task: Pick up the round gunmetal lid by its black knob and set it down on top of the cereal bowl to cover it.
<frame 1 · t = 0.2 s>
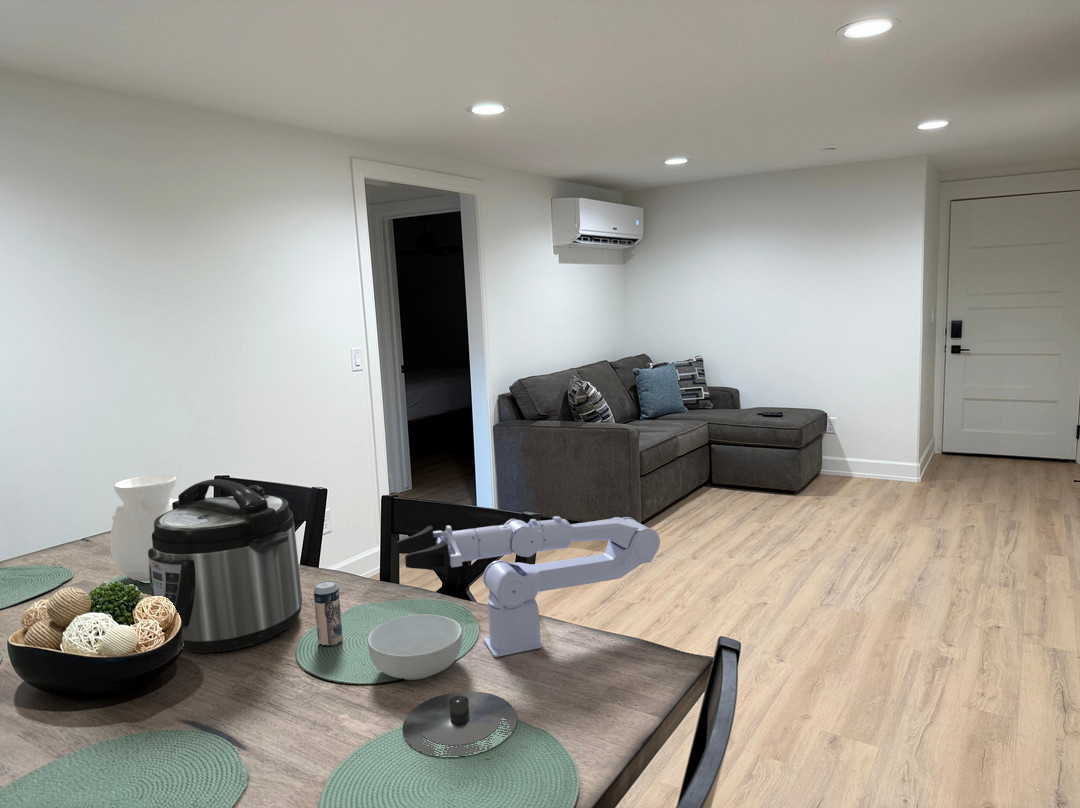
hand: (401, 554, 133), 22 cm above the table, tool horizontal, fingers open, 7 cm apart
cereal bowl: (417, 670, 135), on the table
pitcher: (157, 577, 187), on the table
beer can: (330, 643, 148), on the table
lid: (460, 725, 118), on the table
pressure cooker: (233, 630, 155), on the table
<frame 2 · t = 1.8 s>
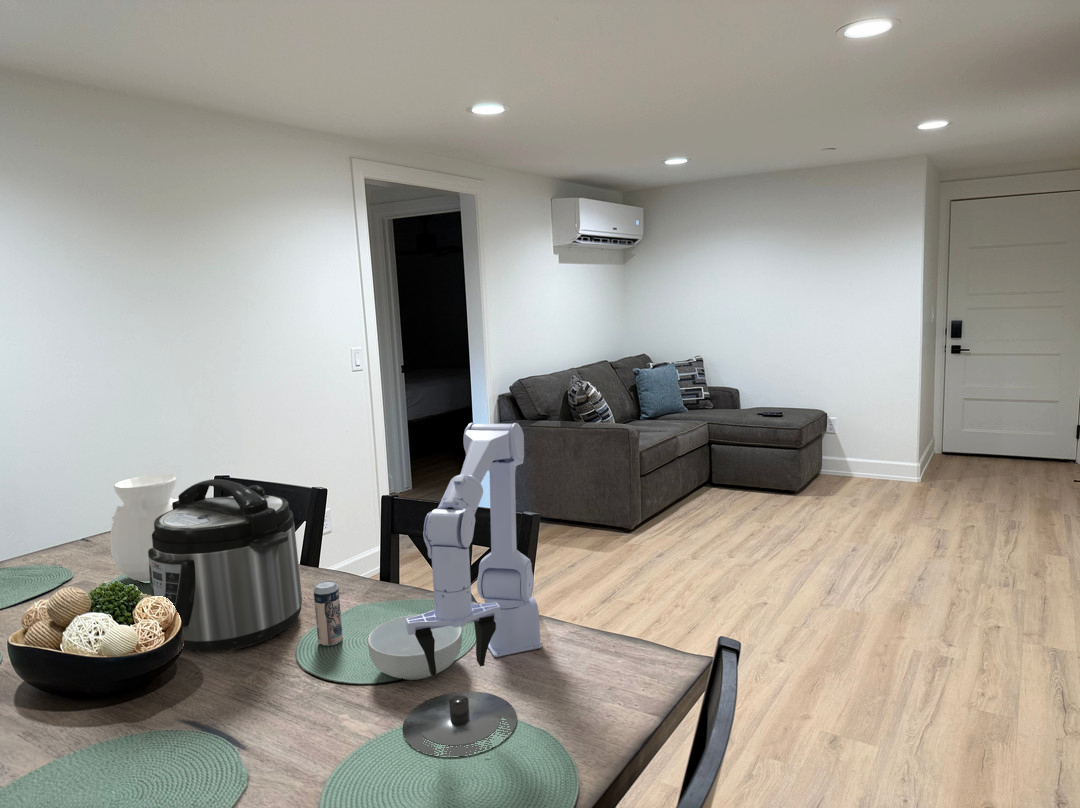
hand: (456, 668, 116), 9 cm above the table, tool pointing down, fingers open, 7 cm apart
nothing on the table moved.
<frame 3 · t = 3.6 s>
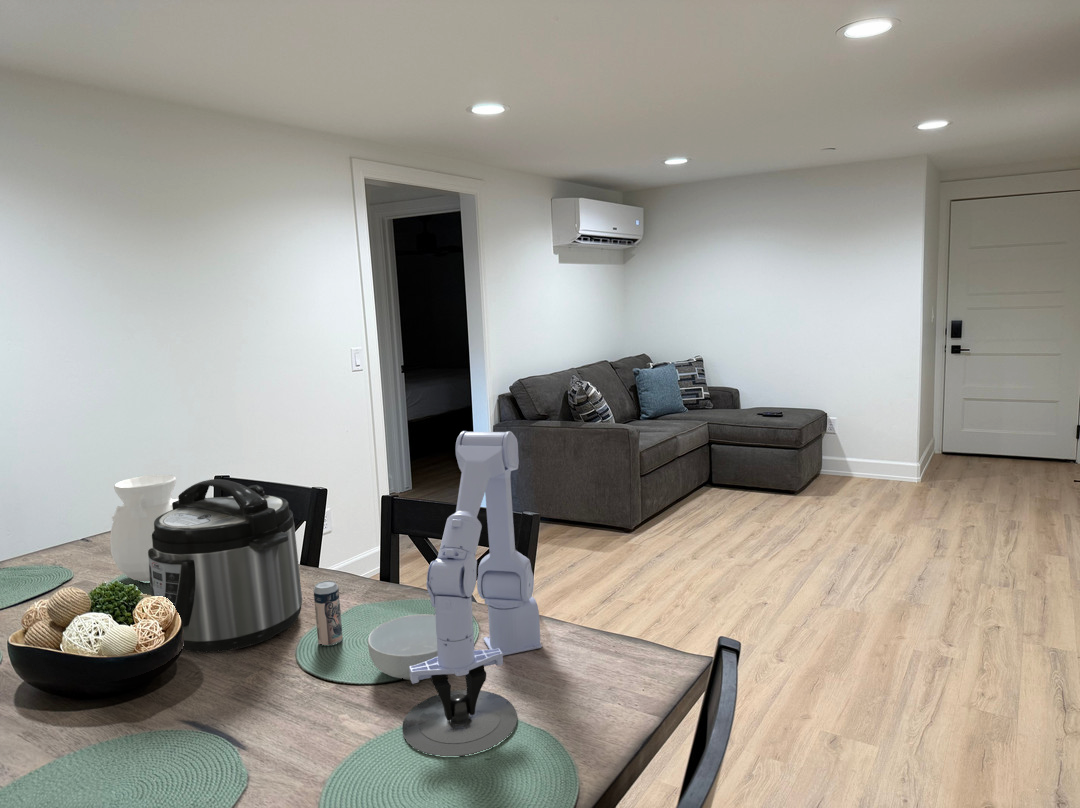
hand: (459, 714, 118), 1 cm above the table, tool pointing down, fingers closed on lid, 3 cm apart
lid: (460, 723, 118), on the table, touching gripper
everything else where it was.
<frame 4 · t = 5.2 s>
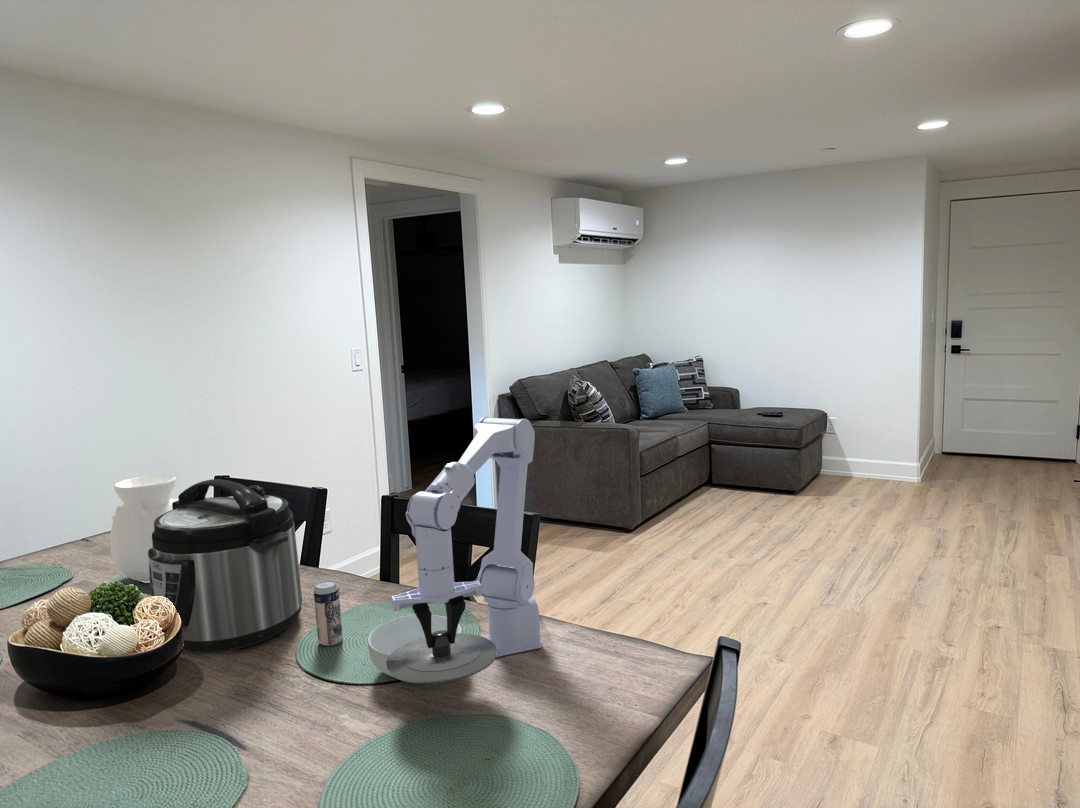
hand: (440, 643, 123), 10 cm above the table, tool pointing down, fingers closed on lid, 3 cm apart
lid: (442, 658, 123), point 8 cm above the table, touching gripper
everything else where it was.
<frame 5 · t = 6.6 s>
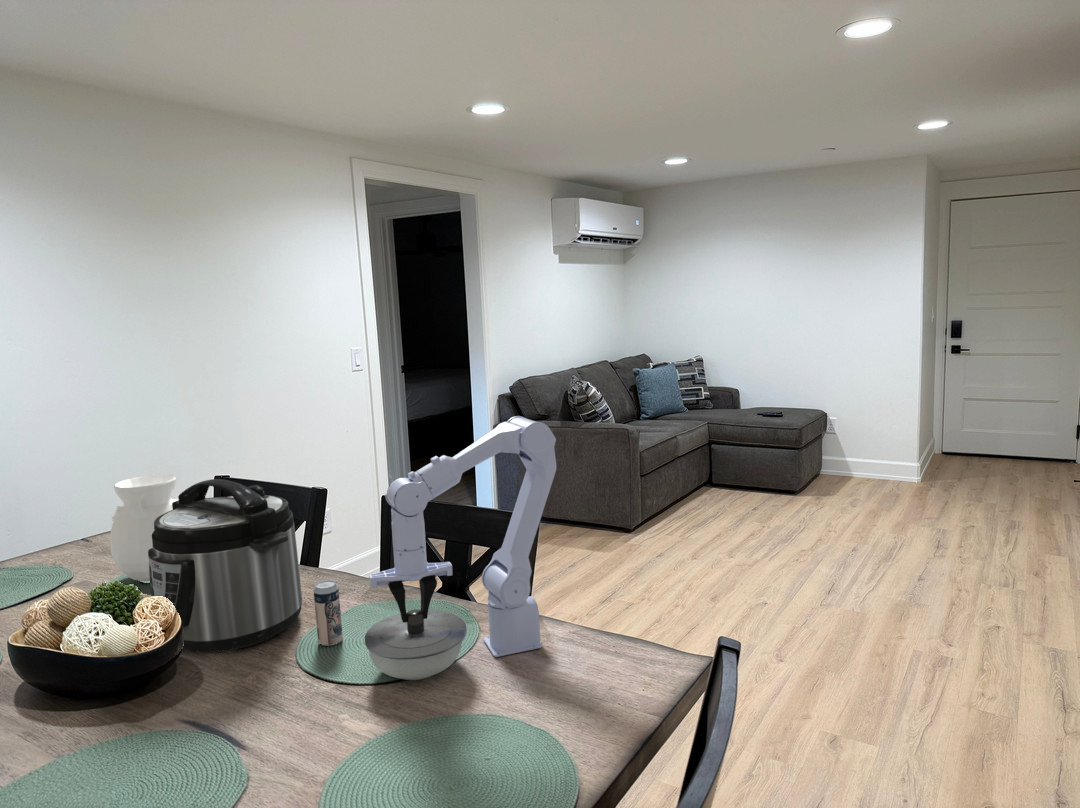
hand: (414, 618, 134), 10 cm above the table, tool pointing down, fingers closed on lid, 3 cm apart
cereal bowl: (417, 670, 135), on the table, touching lid
lid: (416, 635, 134), point 7 cm above the table, touching cereal bowl, gripper
everything else where it was.
when the fingers open (10 cm above the table, at t = 7.0 s): lid stays where it is, resting on cereal bowl.
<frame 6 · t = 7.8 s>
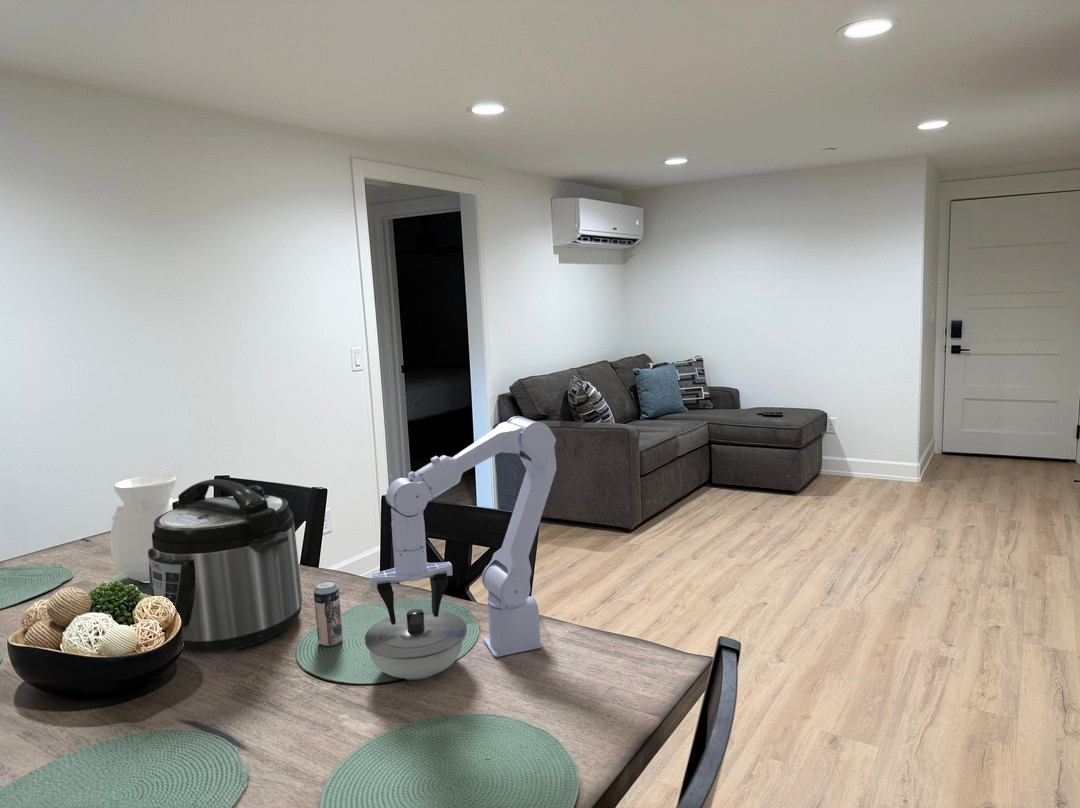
hand: (414, 618, 134), 10 cm above the table, tool pointing down, fingers open, 7 cm apart
lid: (416, 634, 134), point 7 cm above the table, touching cereal bowl
everything else where it was.
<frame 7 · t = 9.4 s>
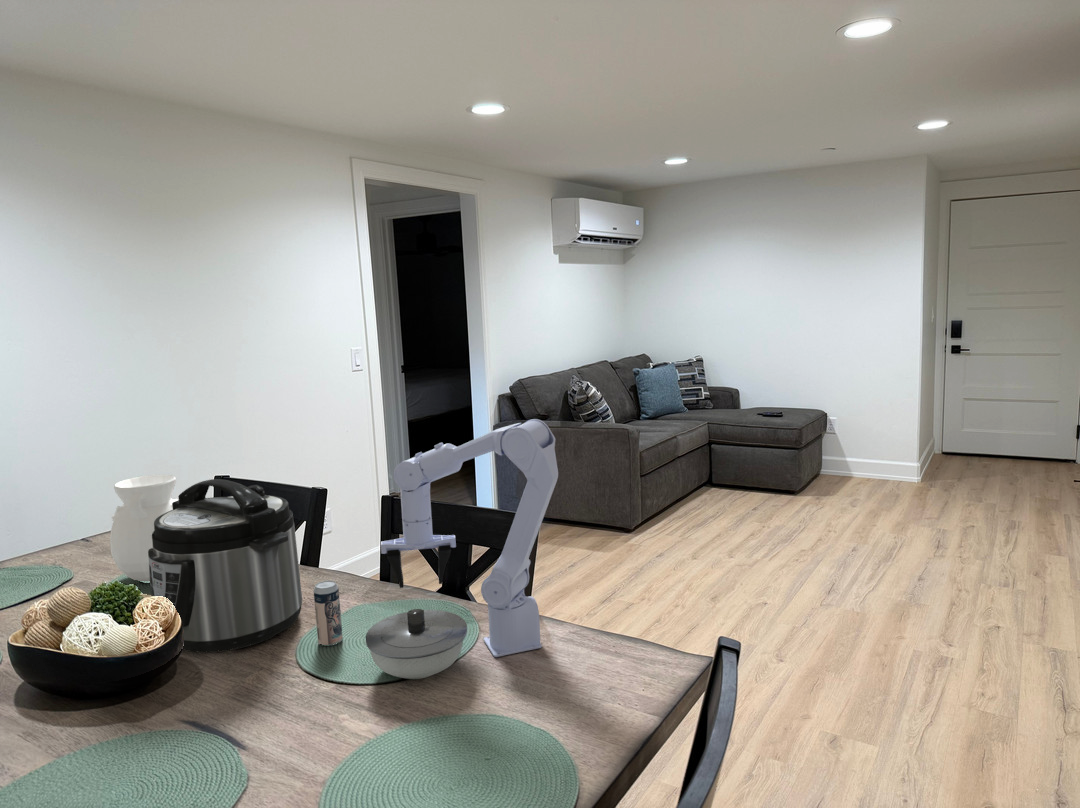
hand: (421, 584, 148), 10 cm above the table, tool pointing down, fingers open, 7 cm apart
nothing on the table moved.
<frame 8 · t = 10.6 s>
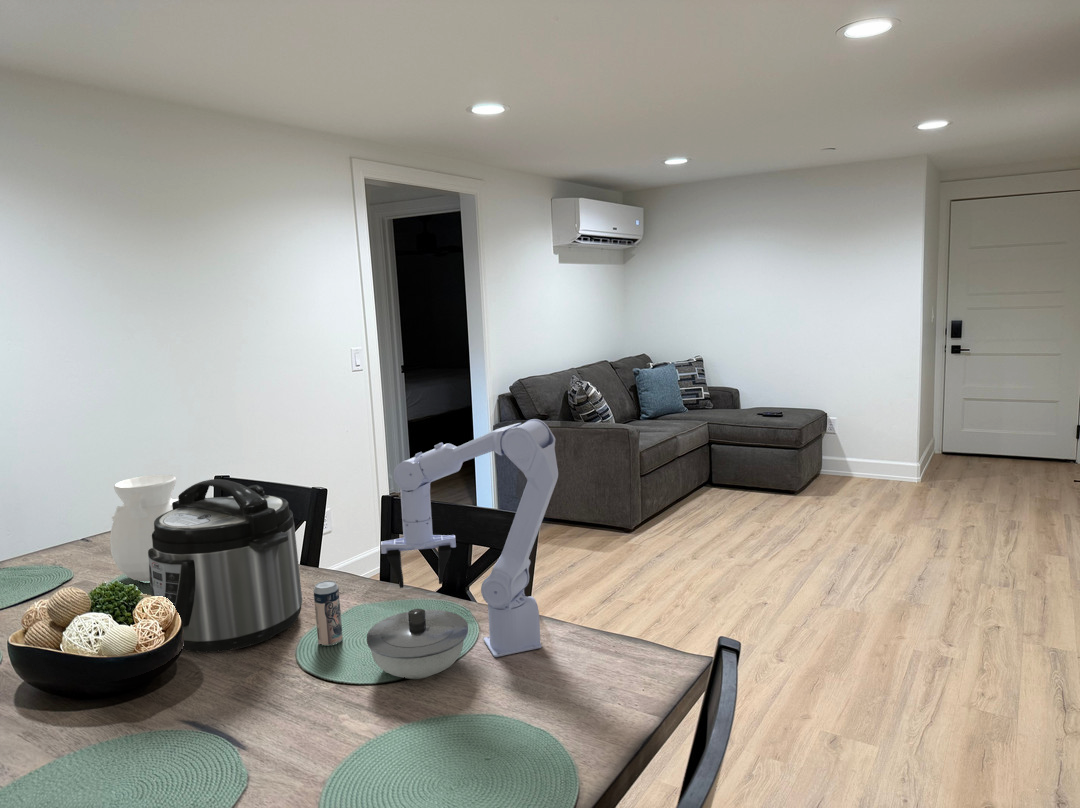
hand: (421, 584, 148), 10 cm above the table, tool pointing down, fingers open, 7 cm apart
nothing on the table moved.
at the end: lid inside the target area on the cereal bowl (1.0 cm from its centre), point 7.2 cm above the cereal bowl's base; lid tilted 0°; the gripper is holding nothing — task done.
